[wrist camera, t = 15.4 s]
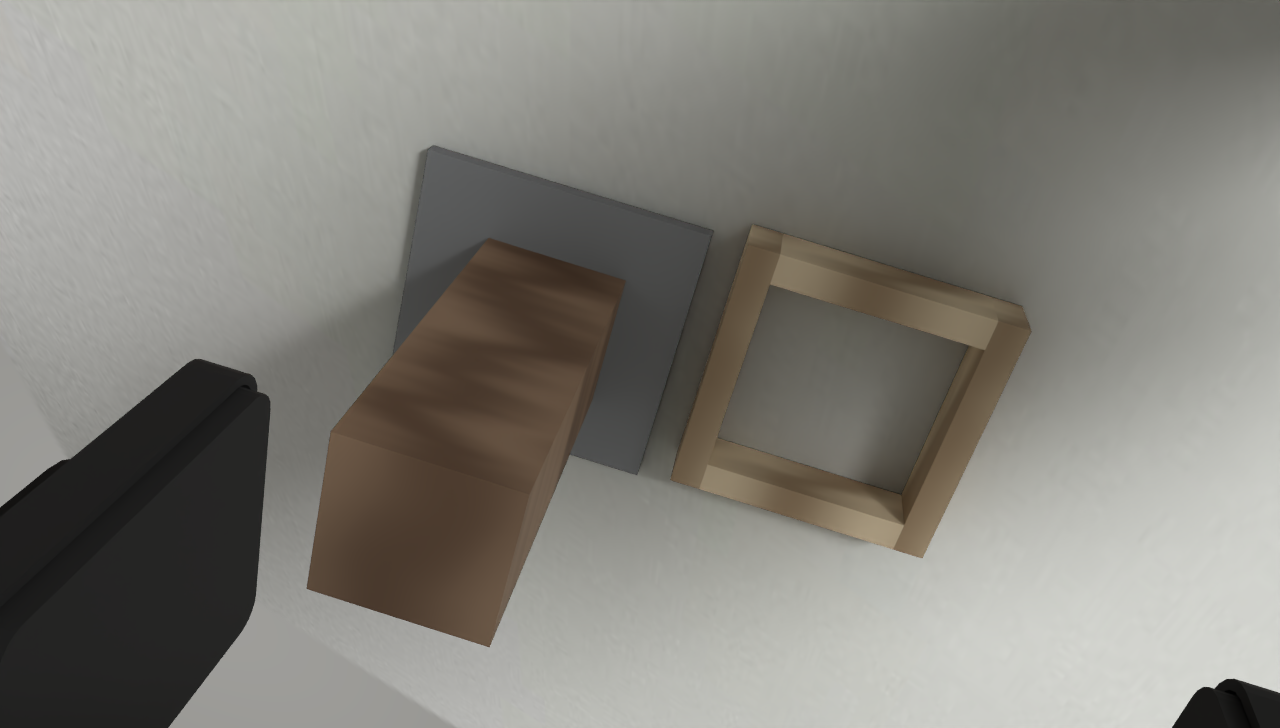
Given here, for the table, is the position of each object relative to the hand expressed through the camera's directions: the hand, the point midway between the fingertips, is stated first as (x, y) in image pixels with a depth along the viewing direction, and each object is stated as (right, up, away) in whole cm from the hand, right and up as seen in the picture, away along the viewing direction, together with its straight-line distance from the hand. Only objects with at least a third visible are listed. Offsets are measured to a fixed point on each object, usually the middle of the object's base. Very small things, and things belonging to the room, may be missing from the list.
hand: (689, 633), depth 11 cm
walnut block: (-4, +4, +33) cm, 33 cm away
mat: (-4, +5, +33) cm, 34 cm away
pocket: (+7, +2, +33) cm, 34 cm away
